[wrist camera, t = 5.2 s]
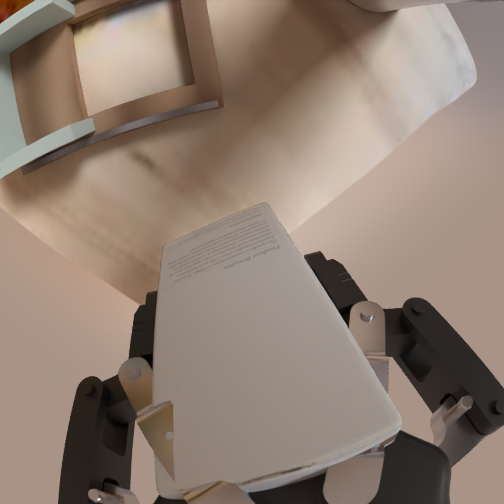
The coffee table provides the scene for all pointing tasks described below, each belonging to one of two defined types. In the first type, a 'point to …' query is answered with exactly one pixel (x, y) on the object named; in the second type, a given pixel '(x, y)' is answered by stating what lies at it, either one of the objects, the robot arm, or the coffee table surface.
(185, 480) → the skincare box
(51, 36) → the board
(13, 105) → the bracket
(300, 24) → the coffee table surface
